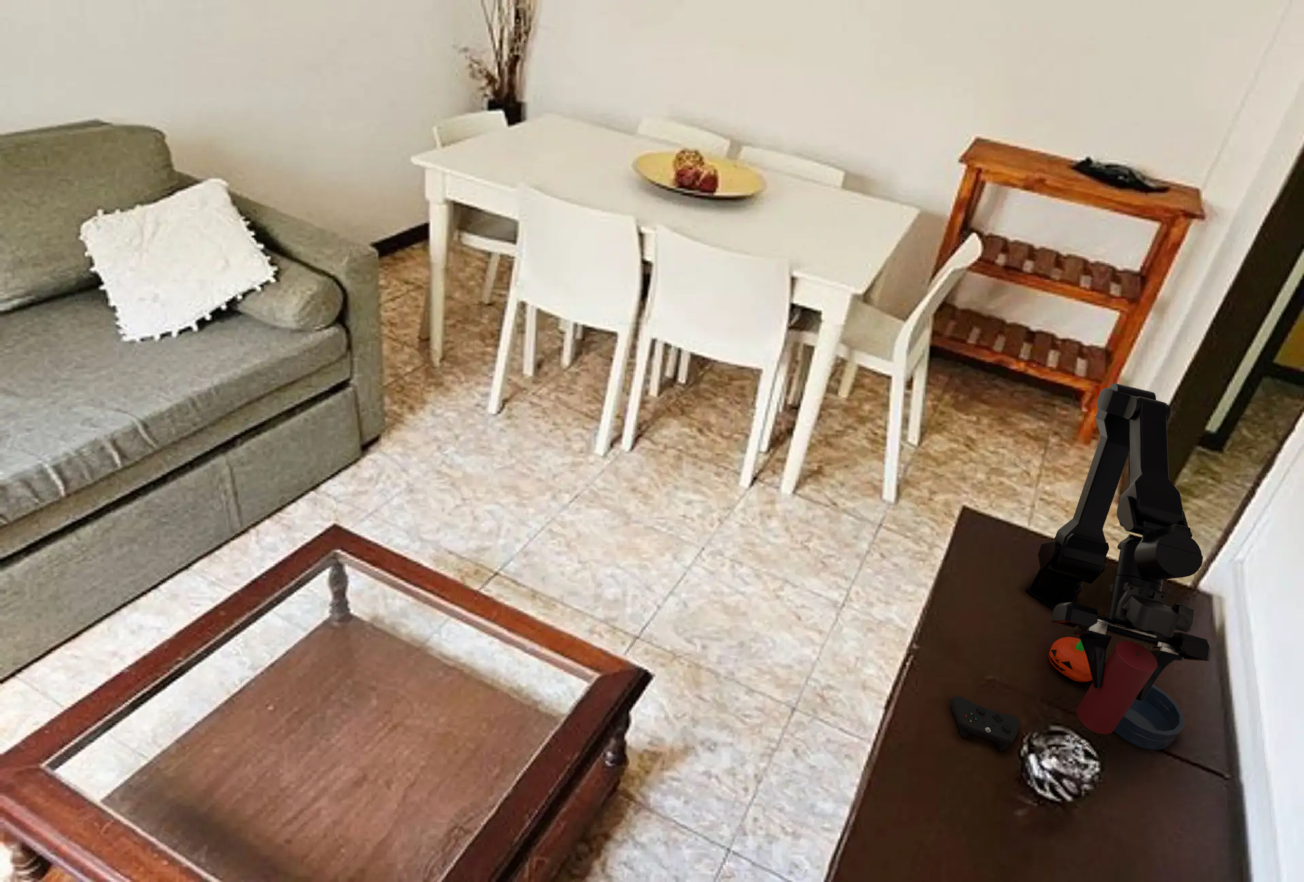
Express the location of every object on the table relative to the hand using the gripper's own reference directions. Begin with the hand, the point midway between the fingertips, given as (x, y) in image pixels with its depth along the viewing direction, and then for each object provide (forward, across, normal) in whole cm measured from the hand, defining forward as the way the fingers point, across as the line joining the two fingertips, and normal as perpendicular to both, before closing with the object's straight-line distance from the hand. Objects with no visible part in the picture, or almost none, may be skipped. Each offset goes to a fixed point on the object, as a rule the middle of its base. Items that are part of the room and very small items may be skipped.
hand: (1118, 694), depth 117 cm
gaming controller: (+10, -14, +8) cm, 19 cm away
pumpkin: (-2, +1, +21) cm, 21 cm away
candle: (+4, 0, +6) cm, 7 cm away
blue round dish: (+2, +10, +16) cm, 19 cm away
